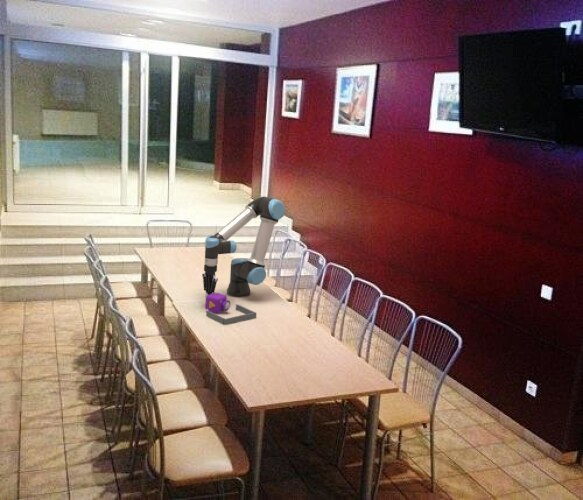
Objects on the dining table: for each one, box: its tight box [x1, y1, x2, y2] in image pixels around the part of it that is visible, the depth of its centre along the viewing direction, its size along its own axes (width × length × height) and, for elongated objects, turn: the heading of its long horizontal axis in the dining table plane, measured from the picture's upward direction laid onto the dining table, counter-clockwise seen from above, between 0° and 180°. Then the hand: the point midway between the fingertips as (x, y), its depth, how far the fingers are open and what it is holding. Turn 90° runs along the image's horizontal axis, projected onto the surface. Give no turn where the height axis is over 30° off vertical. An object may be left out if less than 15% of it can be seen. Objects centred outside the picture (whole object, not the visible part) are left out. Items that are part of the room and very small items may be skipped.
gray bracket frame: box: [205, 303, 257, 326], centre depth 336 cm, size 22×18×4 cm
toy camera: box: [205, 291, 231, 314], centre depth 343 cm, size 11×14×10 cm
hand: (208, 303), depth 351 cm, fingers closed
